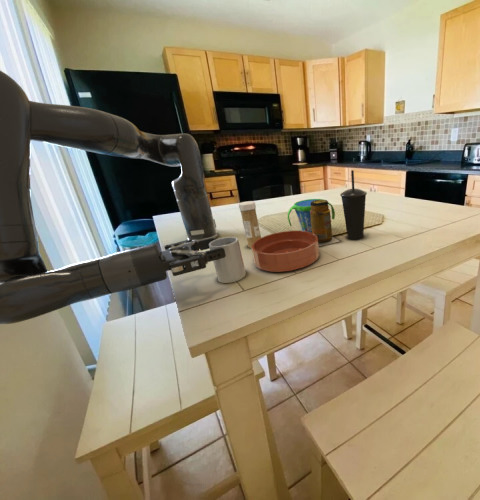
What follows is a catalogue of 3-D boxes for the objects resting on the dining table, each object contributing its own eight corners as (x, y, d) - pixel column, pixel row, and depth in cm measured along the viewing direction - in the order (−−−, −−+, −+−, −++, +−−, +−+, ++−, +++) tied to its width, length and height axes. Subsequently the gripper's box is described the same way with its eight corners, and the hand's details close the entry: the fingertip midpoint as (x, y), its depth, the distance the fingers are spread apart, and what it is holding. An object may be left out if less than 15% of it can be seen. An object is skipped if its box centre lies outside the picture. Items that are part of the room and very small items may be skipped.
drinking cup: (339, 240, 82) (334, 172, 74) (347, 232, 88) (344, 169, 81) (363, 242, 79) (361, 171, 72) (370, 233, 86) (369, 168, 78)
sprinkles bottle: (264, 245, 83) (256, 202, 78) (250, 249, 80) (241, 205, 75) (259, 241, 86) (251, 199, 81) (245, 245, 84) (236, 202, 79)
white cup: (222, 271, 68) (214, 238, 64) (248, 269, 68) (240, 235, 64) (214, 284, 62) (204, 247, 58) (242, 281, 62) (234, 245, 59)
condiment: (328, 234, 88) (325, 197, 84) (340, 241, 81) (337, 202, 77) (307, 239, 86) (302, 201, 81) (317, 247, 78) (313, 206, 74)
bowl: (261, 249, 80) (258, 233, 78) (318, 244, 81) (317, 228, 79) (248, 276, 64) (244, 257, 62) (320, 269, 65) (318, 250, 63)
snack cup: (290, 240, 86) (285, 208, 82) (289, 230, 95) (285, 201, 92) (338, 234, 88) (336, 203, 84) (333, 224, 97) (331, 196, 93)
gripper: (127, 262, 46) (224, 238, 54) (128, 241, 57) (209, 224, 66) (142, 299, 49) (232, 271, 57) (140, 272, 60) (216, 252, 68)
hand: (219, 246), depth 61 cm, fingers open, 8 cm apart
